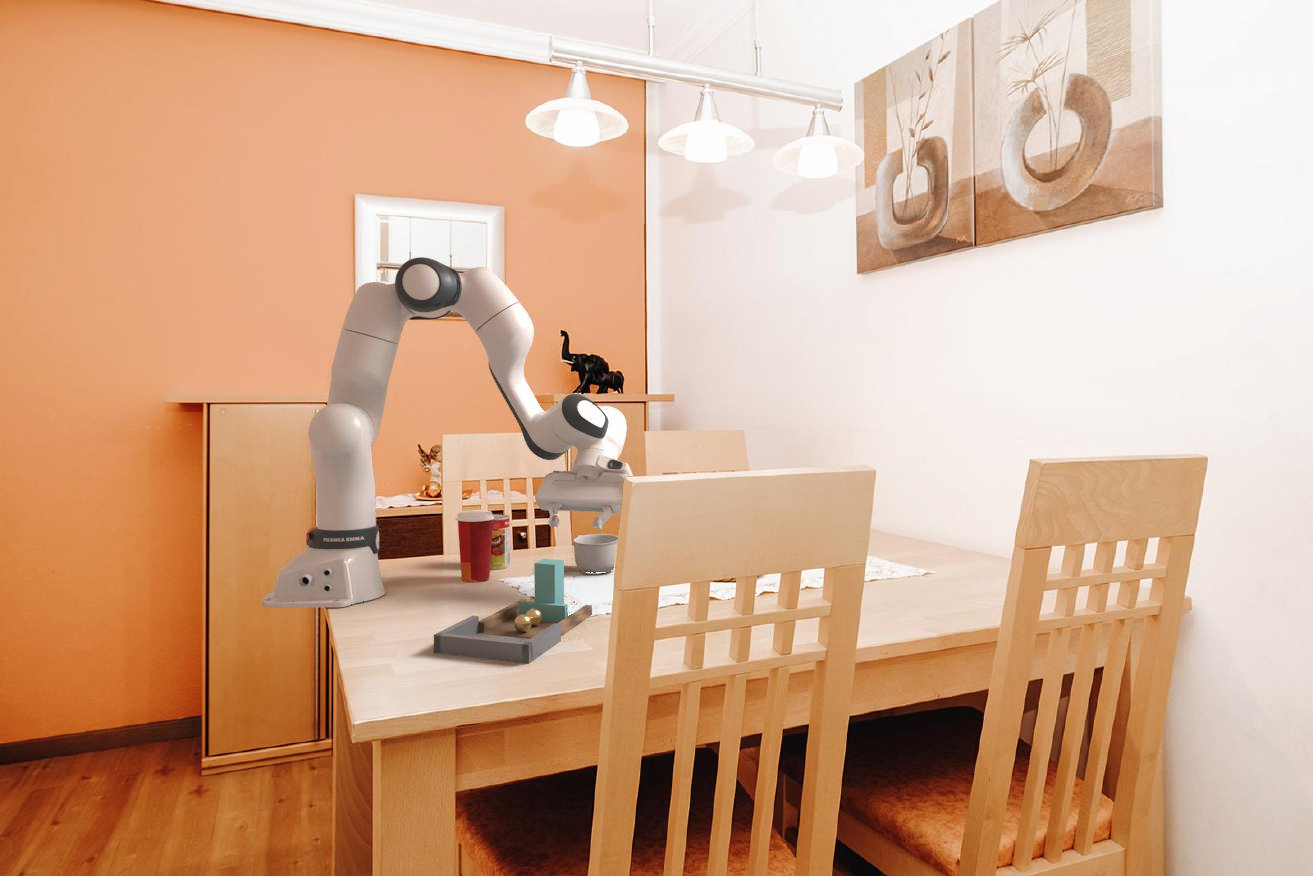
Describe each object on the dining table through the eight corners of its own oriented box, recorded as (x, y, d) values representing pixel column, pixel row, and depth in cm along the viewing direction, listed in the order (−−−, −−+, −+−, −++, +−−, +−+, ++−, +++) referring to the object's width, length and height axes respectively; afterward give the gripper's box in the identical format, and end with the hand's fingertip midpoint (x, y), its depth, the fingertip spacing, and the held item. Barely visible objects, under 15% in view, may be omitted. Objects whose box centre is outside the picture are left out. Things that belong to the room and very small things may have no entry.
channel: (521, 609, 147) (521, 599, 146) (592, 616, 142) (592, 605, 142) (476, 634, 131) (475, 622, 131) (553, 642, 126) (553, 630, 126)
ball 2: (525, 628, 134) (525, 611, 133) (524, 623, 136) (524, 607, 136) (542, 627, 134) (542, 610, 134) (541, 622, 137) (541, 606, 137)
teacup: (628, 573, 178) (628, 539, 178) (585, 579, 172) (585, 543, 172) (600, 562, 190) (600, 530, 190) (560, 567, 184) (560, 534, 184)
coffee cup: (499, 575, 175) (499, 510, 174) (487, 584, 167) (487, 515, 166) (463, 574, 176) (463, 509, 175) (450, 583, 168) (449, 514, 167)
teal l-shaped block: (532, 611, 145) (531, 558, 144) (576, 615, 142) (576, 561, 142) (519, 618, 140) (518, 563, 139) (564, 622, 137) (564, 567, 137)
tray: (472, 633, 132) (472, 615, 131) (560, 642, 127) (560, 624, 127) (433, 653, 121) (433, 634, 120) (529, 664, 116) (528, 645, 116)
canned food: (475, 564, 188) (475, 515, 187) (508, 562, 190) (508, 514, 189) (476, 570, 180) (476, 519, 180) (510, 569, 182) (510, 518, 181)
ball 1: (514, 635, 130) (514, 617, 130) (513, 630, 133) (513, 612, 132) (532, 634, 130) (532, 616, 130) (531, 629, 133) (531, 611, 133)
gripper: (542, 461, 162) (521, 514, 153) (635, 463, 156) (618, 519, 147) (551, 480, 166) (531, 532, 157) (642, 483, 160) (626, 538, 151)
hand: (574, 526), depth 152 cm, fingers open, 8 cm apart
